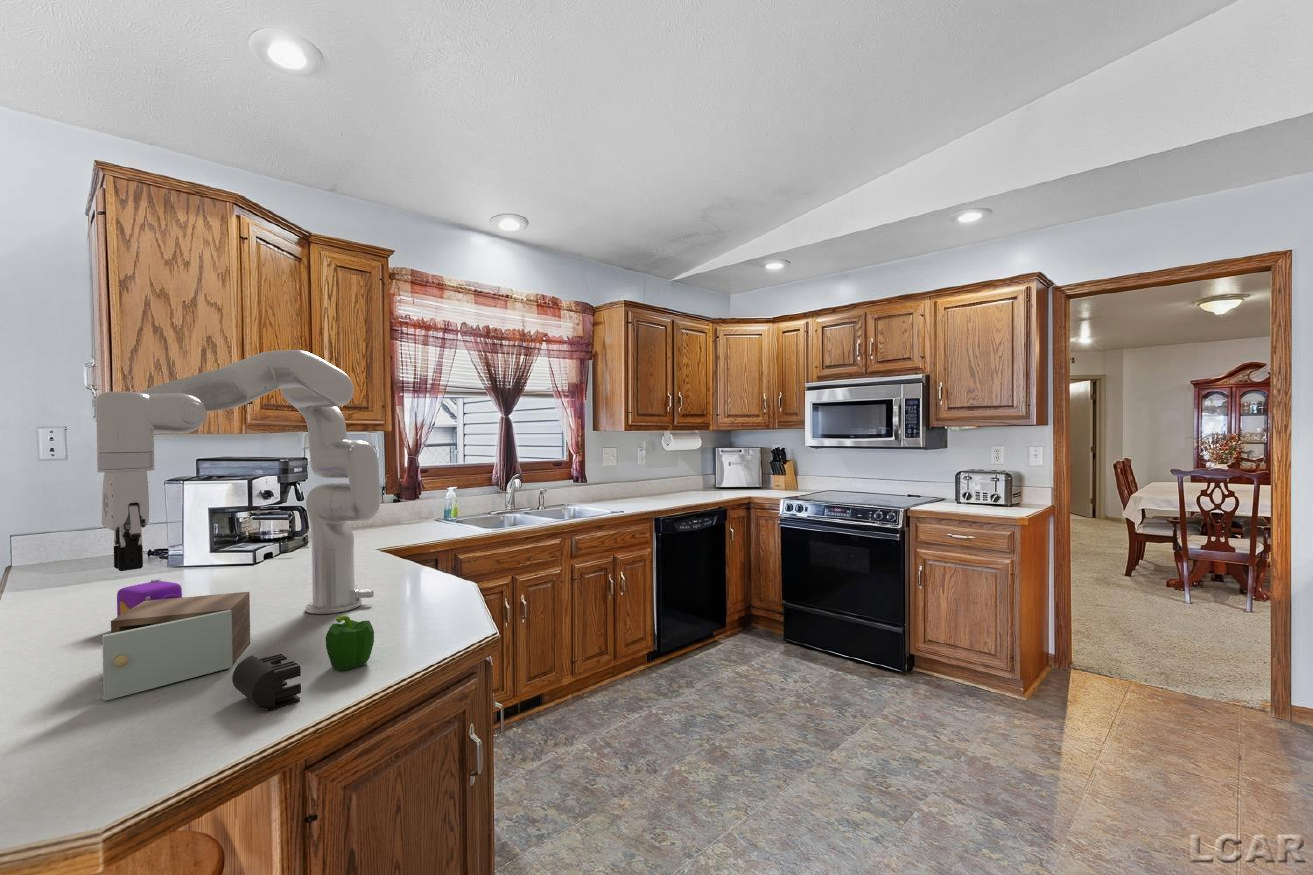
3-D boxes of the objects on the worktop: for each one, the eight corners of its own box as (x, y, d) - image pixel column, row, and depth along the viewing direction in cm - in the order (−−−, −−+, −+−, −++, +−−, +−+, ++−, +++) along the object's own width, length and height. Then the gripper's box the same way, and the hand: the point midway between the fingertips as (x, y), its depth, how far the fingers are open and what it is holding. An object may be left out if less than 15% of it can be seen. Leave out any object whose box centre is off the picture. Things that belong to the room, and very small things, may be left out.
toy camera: (156, 635, 135) (155, 590, 135) (106, 631, 137) (105, 587, 137) (201, 620, 145) (200, 578, 145) (154, 617, 148) (154, 576, 148)
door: (230, 665, 115) (229, 609, 115) (234, 668, 114) (233, 611, 114) (103, 698, 101) (102, 635, 101) (106, 702, 100) (105, 638, 100)
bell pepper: (361, 654, 121) (360, 604, 121) (381, 664, 116) (380, 612, 116) (316, 667, 115) (316, 614, 115) (335, 678, 110) (335, 623, 110)
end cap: (232, 701, 101) (231, 660, 101) (279, 686, 106) (279, 648, 106) (252, 718, 94) (252, 675, 94) (302, 702, 100) (301, 661, 100)
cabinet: (250, 643, 128) (249, 591, 128) (230, 666, 115) (229, 609, 115) (145, 655, 122) (144, 600, 122) (111, 682, 109) (110, 620, 109)
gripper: (88, 462, 108) (90, 566, 108) (107, 465, 98) (109, 579, 98) (142, 461, 114) (144, 559, 114) (166, 463, 104) (168, 570, 104)
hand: (128, 567), depth 106 cm, fingers open, 2 cm apart
